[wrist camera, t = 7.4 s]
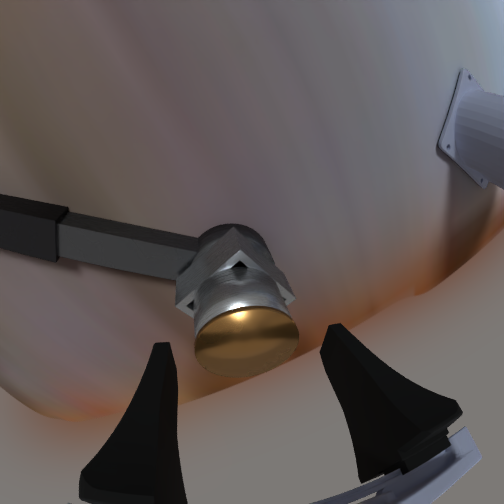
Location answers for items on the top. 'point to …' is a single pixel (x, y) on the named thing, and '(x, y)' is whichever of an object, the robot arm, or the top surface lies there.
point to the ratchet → (105, 239)
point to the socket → (238, 309)
